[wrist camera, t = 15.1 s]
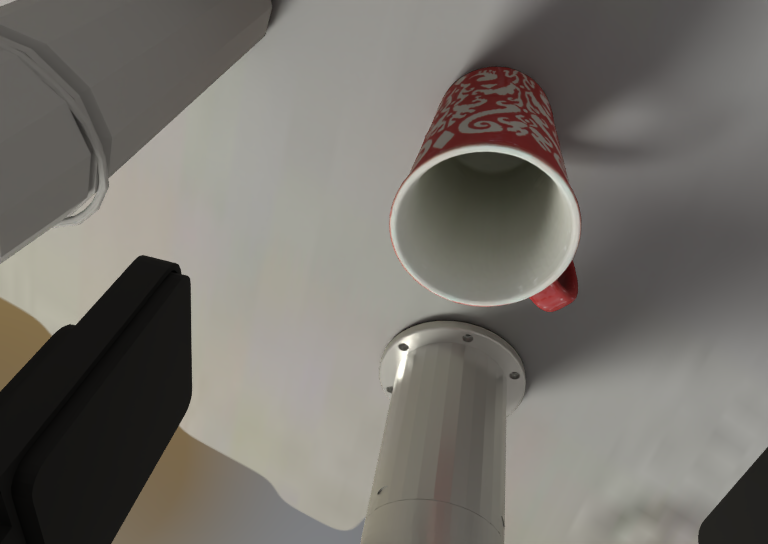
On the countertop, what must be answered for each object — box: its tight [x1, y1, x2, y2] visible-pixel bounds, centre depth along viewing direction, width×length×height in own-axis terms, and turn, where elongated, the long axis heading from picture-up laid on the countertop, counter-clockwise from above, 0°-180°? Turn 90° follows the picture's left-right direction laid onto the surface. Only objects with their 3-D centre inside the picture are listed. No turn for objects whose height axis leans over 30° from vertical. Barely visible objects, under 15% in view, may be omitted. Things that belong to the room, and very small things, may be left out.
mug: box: [389, 67, 581, 312], centre depth 35 cm, size 13×9×14 cm
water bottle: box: [0, 0, 272, 264], centre depth 29 cm, size 9×8×25 cm
